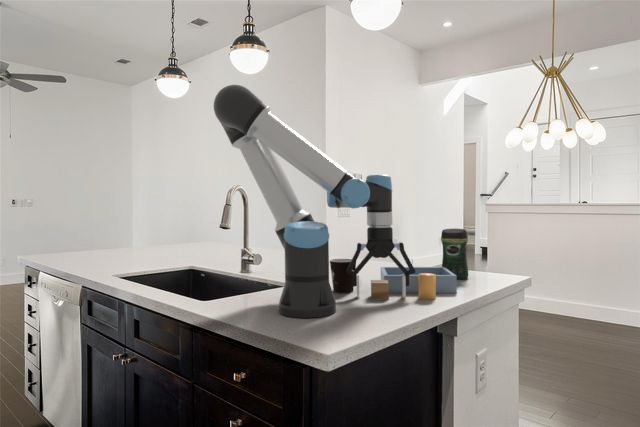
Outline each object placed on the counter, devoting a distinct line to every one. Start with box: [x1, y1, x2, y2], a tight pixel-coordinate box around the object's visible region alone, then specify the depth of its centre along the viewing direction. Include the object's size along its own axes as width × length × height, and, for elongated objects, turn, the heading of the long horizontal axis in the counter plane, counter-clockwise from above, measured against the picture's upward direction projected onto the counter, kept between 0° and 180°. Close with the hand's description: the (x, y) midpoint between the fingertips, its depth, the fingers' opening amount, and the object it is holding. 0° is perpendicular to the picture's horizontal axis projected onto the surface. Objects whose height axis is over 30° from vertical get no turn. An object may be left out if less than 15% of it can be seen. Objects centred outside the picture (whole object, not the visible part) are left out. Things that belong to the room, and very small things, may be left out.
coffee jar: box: [440, 228, 469, 280], centre depth 162 cm, size 10×8×19 cm
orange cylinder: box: [417, 273, 437, 301], centre depth 128 cm, size 5×5×7 cm
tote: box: [380, 266, 458, 294], centre depth 144 cm, size 18×22×6 cm
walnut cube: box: [370, 279, 390, 301], centre depth 129 cm, size 5×5×5 cm
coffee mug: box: [329, 258, 357, 294], centre depth 141 cm, size 12×9×10 cm
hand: (380, 297), depth 129 cm, fingers open, 13 cm apart
